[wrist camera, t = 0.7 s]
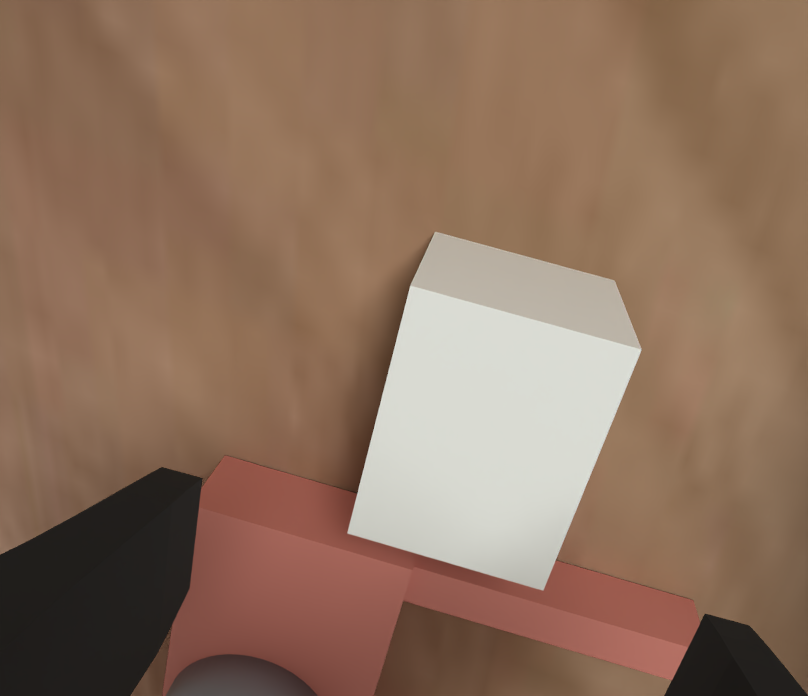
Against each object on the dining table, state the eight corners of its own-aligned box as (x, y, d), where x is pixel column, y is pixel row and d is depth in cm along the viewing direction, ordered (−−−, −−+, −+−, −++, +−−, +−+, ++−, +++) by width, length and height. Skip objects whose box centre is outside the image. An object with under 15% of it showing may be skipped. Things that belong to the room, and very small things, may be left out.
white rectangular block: (614, 278, 18) (641, 349, 14) (538, 479, 20) (543, 590, 16) (435, 230, 18) (410, 285, 14) (382, 435, 20) (346, 533, 16)
